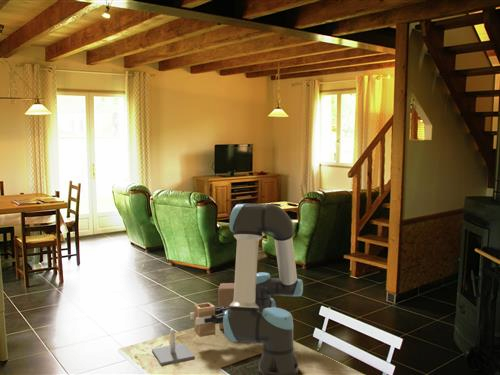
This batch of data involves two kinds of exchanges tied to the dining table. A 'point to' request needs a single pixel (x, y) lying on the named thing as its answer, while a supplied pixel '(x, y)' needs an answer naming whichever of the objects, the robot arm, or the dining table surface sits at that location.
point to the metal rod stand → (172, 352)
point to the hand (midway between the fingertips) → (193, 318)
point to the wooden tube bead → (204, 311)
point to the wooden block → (225, 296)
